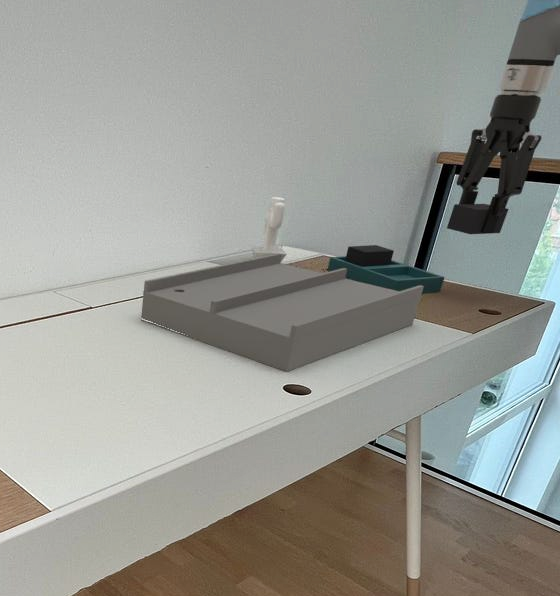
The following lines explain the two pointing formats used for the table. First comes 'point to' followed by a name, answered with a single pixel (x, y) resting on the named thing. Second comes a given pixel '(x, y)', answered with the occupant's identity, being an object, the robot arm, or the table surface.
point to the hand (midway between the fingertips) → (473, 229)
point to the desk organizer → (277, 310)
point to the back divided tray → (389, 275)
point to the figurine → (271, 230)
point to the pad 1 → (369, 255)
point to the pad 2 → (472, 218)
